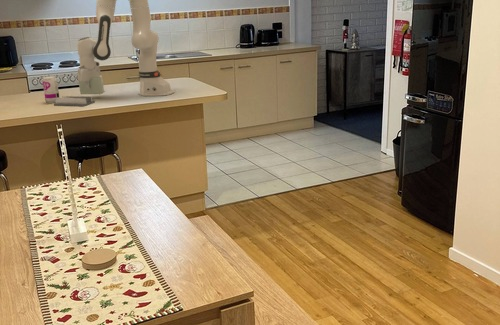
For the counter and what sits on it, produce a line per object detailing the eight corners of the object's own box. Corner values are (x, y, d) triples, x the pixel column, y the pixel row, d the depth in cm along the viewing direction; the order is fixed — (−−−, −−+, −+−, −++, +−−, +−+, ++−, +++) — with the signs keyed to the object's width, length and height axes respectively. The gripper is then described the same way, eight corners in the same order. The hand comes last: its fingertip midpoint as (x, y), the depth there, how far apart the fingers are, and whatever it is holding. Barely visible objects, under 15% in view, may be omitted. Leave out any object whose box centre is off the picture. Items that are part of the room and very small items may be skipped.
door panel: (102, 93, 333) (100, 77, 330) (100, 94, 330) (98, 78, 327) (83, 93, 337) (80, 77, 334) (80, 94, 334) (78, 78, 331)
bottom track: (94, 102, 321) (94, 95, 320) (83, 106, 310) (82, 99, 309) (66, 101, 327) (65, 95, 325) (53, 105, 316) (52, 98, 314)
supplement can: (51, 103, 322) (48, 78, 317) (43, 102, 326) (39, 78, 321) (62, 101, 328) (59, 76, 324) (54, 100, 332) (50, 76, 328)
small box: (104, 91, 356) (102, 75, 353) (101, 93, 351) (99, 77, 348) (92, 91, 357) (90, 75, 354) (89, 93, 352) (87, 77, 349)
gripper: (82, 67, 318) (85, 90, 322) (100, 62, 336) (103, 84, 341) (73, 67, 320) (76, 90, 324) (92, 62, 338) (95, 84, 342)
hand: (90, 87), depth 332 cm, fingers closed on door panel, 3 cm apart
